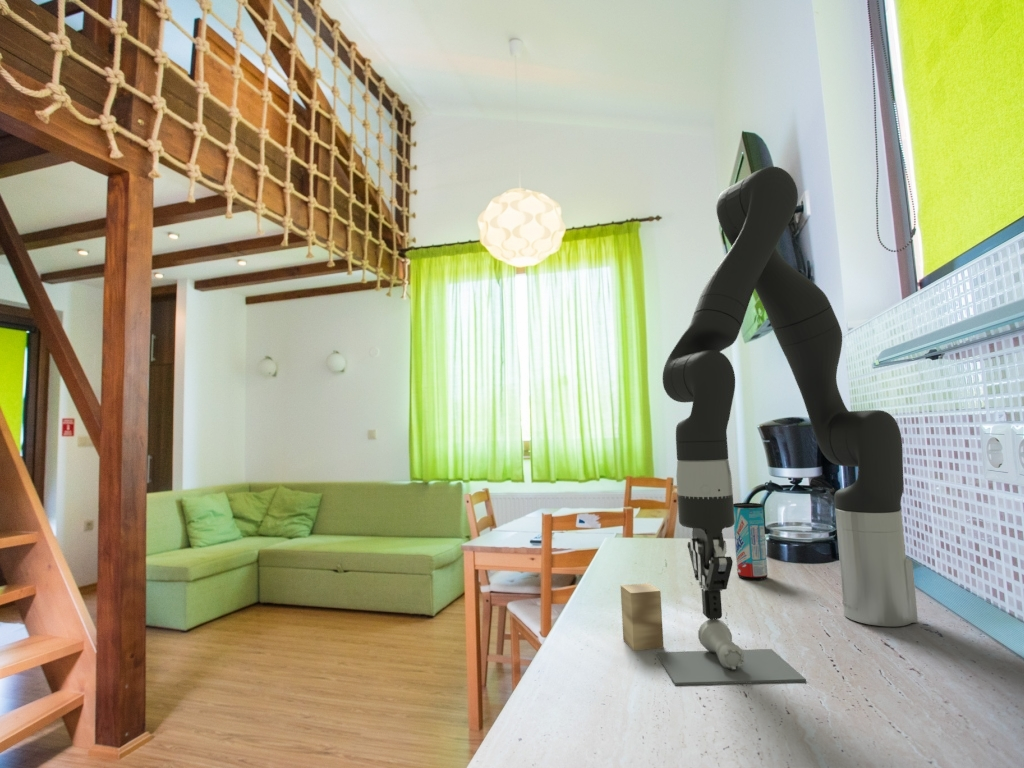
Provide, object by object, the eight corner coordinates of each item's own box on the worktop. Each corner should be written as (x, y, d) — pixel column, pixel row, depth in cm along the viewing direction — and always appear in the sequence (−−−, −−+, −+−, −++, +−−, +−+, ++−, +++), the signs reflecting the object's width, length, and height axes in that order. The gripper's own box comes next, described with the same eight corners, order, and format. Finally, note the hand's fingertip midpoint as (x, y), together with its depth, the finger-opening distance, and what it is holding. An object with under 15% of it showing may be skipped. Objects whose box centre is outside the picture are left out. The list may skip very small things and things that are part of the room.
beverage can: (741, 572, 125) (736, 502, 127) (770, 575, 122) (765, 503, 123) (733, 578, 120) (728, 505, 122) (764, 582, 117) (758, 506, 118)
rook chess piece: (725, 651, 82) (748, 680, 74) (694, 645, 82) (713, 673, 74) (731, 620, 82) (754, 646, 74) (700, 614, 82) (719, 639, 74)
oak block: (651, 637, 88) (648, 583, 89) (663, 647, 84) (660, 590, 85) (623, 639, 88) (620, 585, 88) (633, 650, 83) (630, 593, 84)
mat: (771, 651, 81) (771, 648, 81) (806, 681, 71) (805, 679, 71) (656, 654, 81) (656, 652, 81) (674, 685, 71) (674, 682, 71)
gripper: (748, 495, 76) (758, 632, 74) (715, 486, 89) (723, 602, 88) (691, 497, 76) (699, 634, 75) (666, 488, 89) (673, 604, 88)
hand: (712, 617), depth 81 cm, fingers closed
